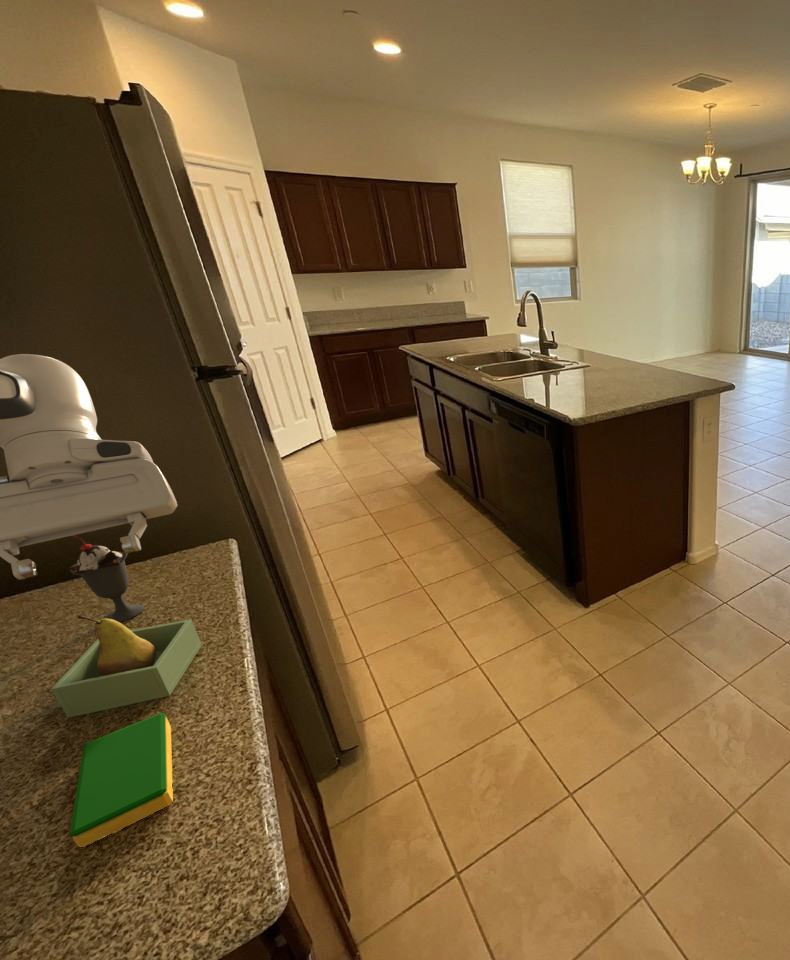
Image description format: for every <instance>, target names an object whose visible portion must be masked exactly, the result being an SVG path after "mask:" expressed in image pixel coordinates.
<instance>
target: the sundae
mask: <svg viewBox="0 0 790 960" xmlns="http://www.w3.org/2000/svg"><path fill="white" fill-rule="evenodd" d="M70 537H71V538H74V539H76V540H77V539H78V540H80V541H81V542H82V544H83V545H81V547H79V551H80V554H79V556H78V557H77V561H76V563H75V564H73V565H72V566H70V567H69V568H68V571H69V572H70V573H72V575H74V576H80V578H82V580H83V581H84V582H85V583H86V585H87V586H88V587H89V589H90V590H91V591H92V592H93V593H94V594H95V595H96V597H98V598H102V599H109V600H111V601H113V603H114V607H115V609H114V610H113V611H111V612H109V613H108V614H107V615H106V616H105V617H104V619H105V618H106V619H113V620H115V621H117V622H119V623H122V622H126V621H128V620H131V619H133V618H135V617H136V616H139V615H140V614H141V613H142V612H144V610H145V605H144V604H141V603H134V604H127V602H125V600H124V597H123V595H124V594H125V592H126V591H127V590H128V589H129V587H130V580H129V574H128V570H127V566H126V562H125V561H126V558H127V557H128V554H129V553H125V552H124V551H115V550H110V549H109V548H108V547H107V546H103V545H100V544H99V545H98V544H90V543H86V542H85V540H83V539H82V538H81V537H79V536H77V534H76V535H72V536H70Z"/></svg>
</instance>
